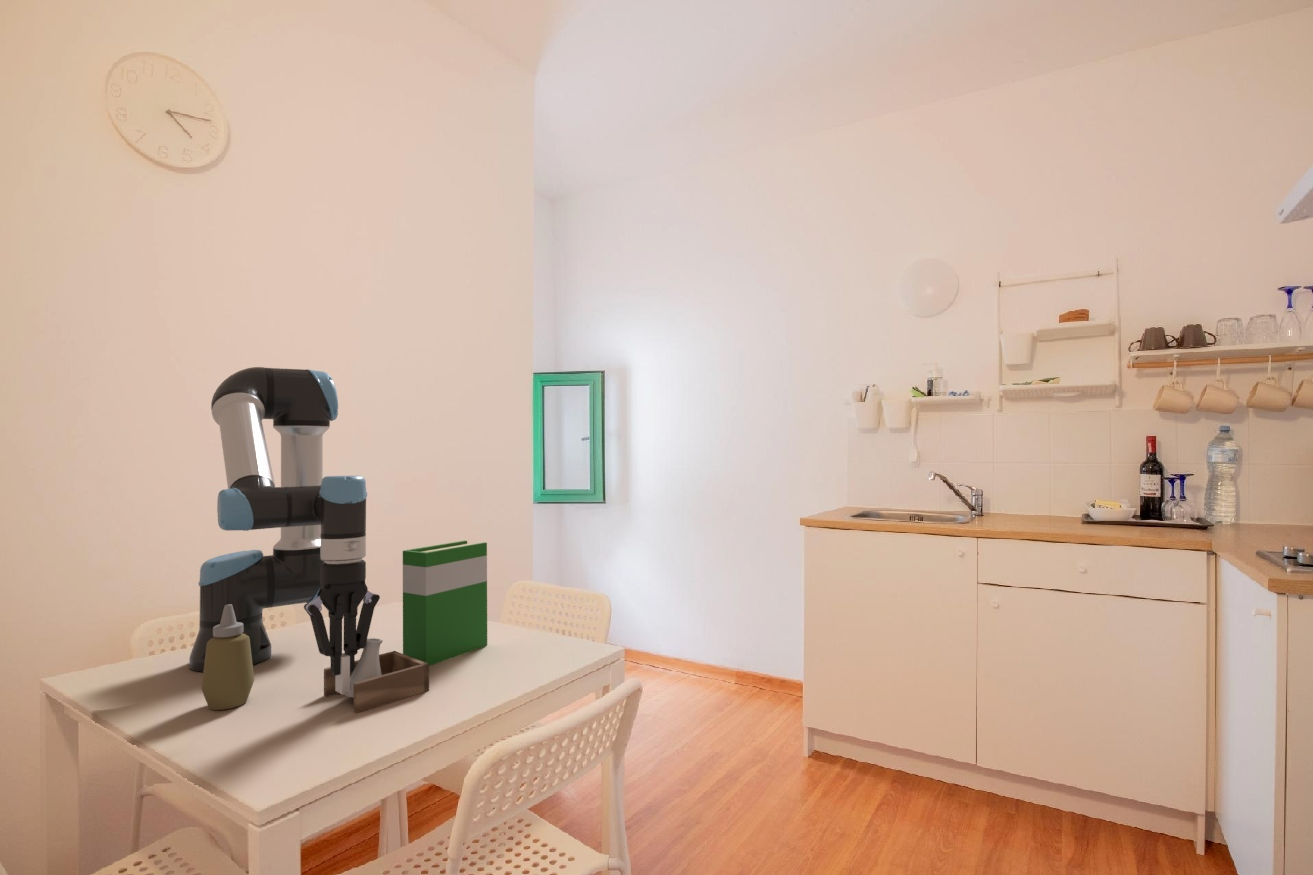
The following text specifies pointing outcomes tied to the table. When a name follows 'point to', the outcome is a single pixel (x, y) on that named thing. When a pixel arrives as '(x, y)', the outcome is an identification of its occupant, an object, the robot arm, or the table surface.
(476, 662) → the table surface
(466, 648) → the hardback book
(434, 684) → the table surface
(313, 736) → the table surface
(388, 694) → the box
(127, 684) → the table surface
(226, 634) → the squeeze bottle
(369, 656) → the flask
